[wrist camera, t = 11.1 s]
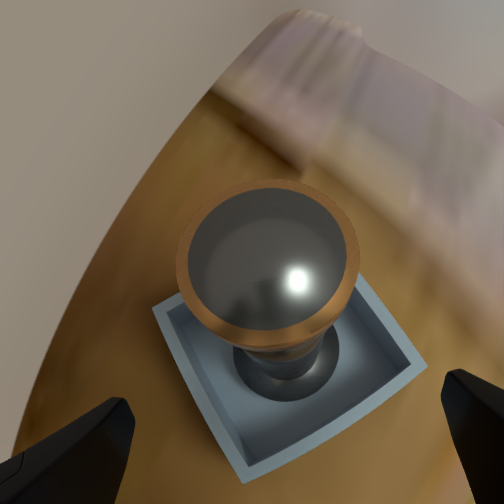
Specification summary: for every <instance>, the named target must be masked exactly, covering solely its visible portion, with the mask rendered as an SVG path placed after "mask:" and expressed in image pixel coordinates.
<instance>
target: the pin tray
mask: <svg viewBox="0 0 504 504" xmlns="http://www.w3.org/2000/svg"><path fill="white" fill-rule="evenodd" d="M152 310H153V312H154V315H155V317H156V319H157V322H158V324H159V326H160V329H161V331H162V333H163V336H164V338H165V340H166V342H167V344H168V347H169V349H170V351H171V353H172V355H173V357H174V360H175V362H176V364H177V366H178V368H179V370H180V372H181V374H182V376H183V378H184V380H185V382H186V384H187V386H188V388H189V390H190V392H191V394H192V396H193V398H194V400H195V402H196V404H197V406H198V408H199V409H200V411H201V413H202V415H203V417H204V419H205V421H206V422H207V424H208V426H209V428H210V430H211V431H212V433H213V435H214V437H215V439H216V440H217V442H218V444H219V446H220V447H221V449H222V451H223V452H224V454H225V456H226V457H227V459H228V461H229V462H230V464H231V466H232V467H233V469H234V471H235V472H236V474H237V475H238V477H239V479H240V480H241V482H242V483H243V484H245V483H247V482H249V481H251V480H254V479H256V478H258V477H260V476H262V475H264V474H266V473H268V472H270V471H272V470H274V469H276V468H278V467H280V466H282V465H284V464H286V463H288V462H290V461H292V460H294V459H295V458H297V457H299V456H301V455H303V454H305V453H306V452H308V451H310V450H312V449H313V448H315V447H317V446H318V445H320V444H322V443H323V442H325V441H327V440H328V439H330V438H332V437H333V436H335V435H336V434H338V433H340V432H341V431H343V430H344V429H346V428H347V427H349V426H350V425H352V424H353V423H355V422H356V421H358V420H359V419H361V418H362V417H364V416H365V415H366V414H368V413H369V412H371V411H372V410H374V409H375V408H376V407H378V406H379V405H380V404H382V403H383V402H384V401H386V400H387V399H388V398H390V397H391V396H392V395H394V394H395V393H396V392H397V391H399V390H400V389H401V388H403V387H404V386H405V385H406V384H408V383H409V382H410V381H411V380H412V379H414V378H415V377H416V376H417V375H418V374H420V373H421V372H422V371H423V370H424V369H425V368H427V367H428V366H427V364H426V363H425V361H424V360H423V359H422V357H421V356H420V354H419V353H418V351H417V350H416V348H415V347H414V346H413V344H412V343H411V341H410V340H409V339H408V337H407V336H406V334H405V333H404V332H403V330H402V329H401V327H400V326H399V325H398V323H397V322H396V321H395V319H394V318H393V316H392V315H391V314H390V312H389V311H388V310H387V308H386V307H385V306H384V304H383V303H382V302H381V300H380V299H379V298H378V296H377V295H376V294H375V292H374V291H373V290H372V288H371V287H370V286H369V285H368V283H367V282H366V281H365V279H364V278H363V277H362V275H361V274H360V273H358V277H357V281H356V284H355V286H354V289H353V291H352V294H351V296H350V298H349V301H348V303H347V305H346V307H345V309H344V310H343V312H342V314H341V315H340V316H339V318H338V319H337V320H336V321H335V323H334V324H333V326H334V327H335V330H336V332H337V335H338V339H339V347H340V349H339V359H338V363H337V366H336V369H335V371H334V373H333V375H332V376H331V378H330V379H329V381H328V382H327V383H326V384H325V385H324V386H323V387H322V388H321V389H320V390H319V391H317V392H316V393H314V394H313V395H311V396H309V397H307V398H304V399H302V400H298V401H293V402H278V401H273V400H270V399H267V398H264V397H262V396H260V395H258V394H256V393H255V392H253V391H252V390H251V389H250V388H249V387H248V386H246V384H245V383H244V382H243V381H242V379H241V378H240V376H239V374H238V372H237V370H236V367H235V364H234V359H233V345H231V344H229V343H227V342H225V341H223V340H222V339H220V338H219V337H217V336H216V335H215V334H213V333H212V332H211V331H210V330H209V329H208V328H207V327H206V326H205V325H204V324H202V323H201V322H200V321H199V320H198V319H197V318H196V317H195V316H194V314H193V313H192V312H191V310H190V309H189V308H188V306H187V305H186V303H185V301H184V299H183V297H182V295H181V292H179V293H177V294H175V295H174V296H172V297H170V298H168V299H166V300H165V301H163V302H161V303H159V304H158V305H156V306H154V307H152Z"/></svg>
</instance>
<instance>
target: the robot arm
mask: <svg viewBox="0 0 504 504" xmlns="http://www.w3.org/2000/svg"><path fill="white" fill-rule="evenodd" d="M441 402H442V405H443V408H444V412H445V415H446V418H447V422H448V425H449V429H450V432H451V436H452V439H453V443H454V445H455V448H456V451H457V453H458V456H459V458H460V461H461V463H462V466H463V469H464V471H465V474H466V477H467V480H468V482H469V485H470V488H471V491H472V494H473V497H474V500H475V503H476V504H504V390H503V389H501V388H499V387H497V386H495V385H493V384H491V383H489V382H487V381H485V380H483V379H481V378H479V377H477V376H475V375H473V374H471V373H469V372H467V371H465V370H463V369H455V370H452V371H449V372H447V374H446V376H445V380H444V384H443V388H442V391H441ZM134 428H135V418H134V415H133V413H132V411H131V409H130V407H129V405H128V402H127V401H126V400H125V399H124V398H119V397H111V398H110V399H108V400H106V401H105V402H103V403H102V404H100V405H99V406H97V407H95V408H94V409H92V410H91V411H89V412H87V413H86V414H84V415H83V416H81V417H79V418H78V419H76V420H75V421H73V422H71V423H70V424H68V425H66V426H65V427H63V428H62V429H60V430H58V431H57V432H55V433H53V434H52V435H50V436H48V437H47V438H45V439H43V440H42V441H40V442H38V443H36V444H35V445H33V446H31V447H30V448H28V449H26V450H25V451H23V452H21V453H19V454H18V455H16V456H14V457H12V458H10V459H8V460H7V461H5V462H3V463H1V464H0V504H114V503H115V500H116V496H117V493H118V490H119V487H120V484H121V481H122V478H123V475H124V472H125V469H126V465H127V461H128V456H129V452H130V447H131V442H132V437H133V433H134Z"/></svg>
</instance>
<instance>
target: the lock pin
mask: <svg viewBox="0 0 504 504" xmlns="http://www.w3.org/2000/svg"><path fill="white" fill-rule="evenodd" d="M359 265H360V250H359V244H358V239H357V236H356V233H355V230H354V228H353V226H352V224H351V222H350V220H349V218H348V217H347V216H346V214H345V213H344V211H343V210H342V209H341V208H340V207H339V206H338V205H337V204H336V203H335V202H334V201H333V200H332V199H330V198H329V197H328V196H327V195H325V194H323V193H322V192H320V191H318V190H316V189H314V188H312V187H310V186H308V185H305V184H302V183H299V182H294V181H289V180H281V179H263V180H255V181H250V182H246V183H243V184H239V185H236V186H234V187H232V188H229V189H227V190H225V191H223V192H221V193H220V194H218V195H216V196H215V197H213V198H212V199H211V200H209V201H208V202H207V203H206V204H205V205H203V206H202V207H201V208H200V209H199V210H198V212H197V213H196V214H195V215H194V216H193V217H192V219H191V220H190V222H189V223H188V225H187V226H186V228H185V230H184V232H183V234H182V237H181V239H180V242H179V245H178V249H177V253H176V264H175V266H176V278H177V283H178V287H179V290H180V292H181V295H182V297H183V299H184V301H185V303H186V305H187V306H188V308H189V309H190V310H191V312H192V313H193V314H194V316H195V317H196V318H197V319H198V320H199V321H200V322H201V323H202V324H204V325H205V326H206V327H207V328H208V329H209V330H210V331H211V332H212V333H213V334H215V335H216V336H217V337H219V338H220V339H222V340H223V341H225V342H227V343H229V344H231V345H233V359H234V364H235V367H236V370H237V372H238V374H239V376H240V378H241V379H242V381H243V382H244V383H245V384H246V386H248V387H249V388H250V389H251V390H252V391H253V392H255V393H256V394H258V395H260V396H262V397H264V398H267V399H270V400H273V401H278V402H293V401H298V400H302V399H304V398H307V397H309V396H311V395H313V394H314V393H316V392H317V391H319V390H320V389H321V388H322V387H323V386H324V385H325V384H326V383H327V382H328V381H329V379H330V378H331V376H332V375H333V373H334V371H335V369H336V366H337V363H338V359H339V349H340V347H339V339H338V335H337V332H336V330H335V327H334V326H333V324H334V323H335V321H336V320H337V319H338V318H339V316H340V315H341V314H342V312H343V310H344V309H345V307H346V305H347V303H348V301H349V298H350V296H351V294H352V291H353V289H354V286H355V284H356V281H357V277H358V273H359Z"/></svg>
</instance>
